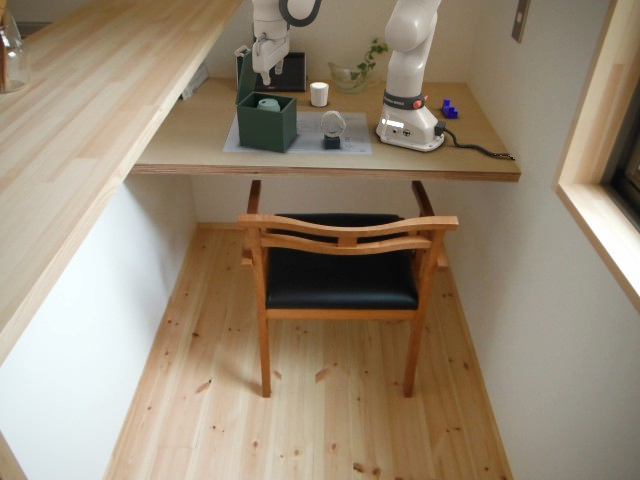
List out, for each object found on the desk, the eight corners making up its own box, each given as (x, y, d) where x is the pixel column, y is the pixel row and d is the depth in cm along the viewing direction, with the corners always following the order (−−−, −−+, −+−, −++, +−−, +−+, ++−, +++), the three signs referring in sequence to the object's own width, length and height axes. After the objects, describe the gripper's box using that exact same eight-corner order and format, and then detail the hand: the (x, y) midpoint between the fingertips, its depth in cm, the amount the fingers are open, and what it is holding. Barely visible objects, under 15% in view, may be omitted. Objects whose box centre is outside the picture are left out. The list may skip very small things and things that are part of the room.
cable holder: (456, 118, 165) (459, 107, 162) (447, 118, 164) (449, 107, 162) (450, 109, 171) (453, 98, 168) (441, 109, 171) (443, 98, 168)
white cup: (331, 102, 173) (332, 84, 169) (321, 108, 168) (322, 90, 164) (316, 98, 176) (316, 80, 171) (306, 104, 171) (306, 85, 167)
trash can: (296, 135, 151) (296, 97, 143) (283, 152, 142) (282, 113, 134) (255, 128, 154) (253, 91, 146) (240, 145, 145) (236, 106, 137)
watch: (345, 148, 145) (347, 115, 138) (320, 149, 144) (321, 115, 137) (343, 140, 149) (345, 107, 142) (318, 141, 148) (319, 108, 141)
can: (259, 143, 144) (257, 107, 136) (258, 134, 149) (256, 98, 142) (281, 142, 145) (280, 106, 137) (280, 133, 150) (278, 97, 143)
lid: (263, 42, 136) (248, 36, 136) (246, 55, 126) (229, 48, 126) (254, 90, 146) (239, 84, 146) (237, 105, 136) (222, 98, 136)
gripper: (266, 39, 119) (270, 92, 127) (292, 21, 134) (294, 69, 143) (244, 37, 120) (249, 89, 129) (272, 19, 136) (275, 67, 144)
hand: (273, 78), depth 136 cm, fingers open, 8 cm apart
